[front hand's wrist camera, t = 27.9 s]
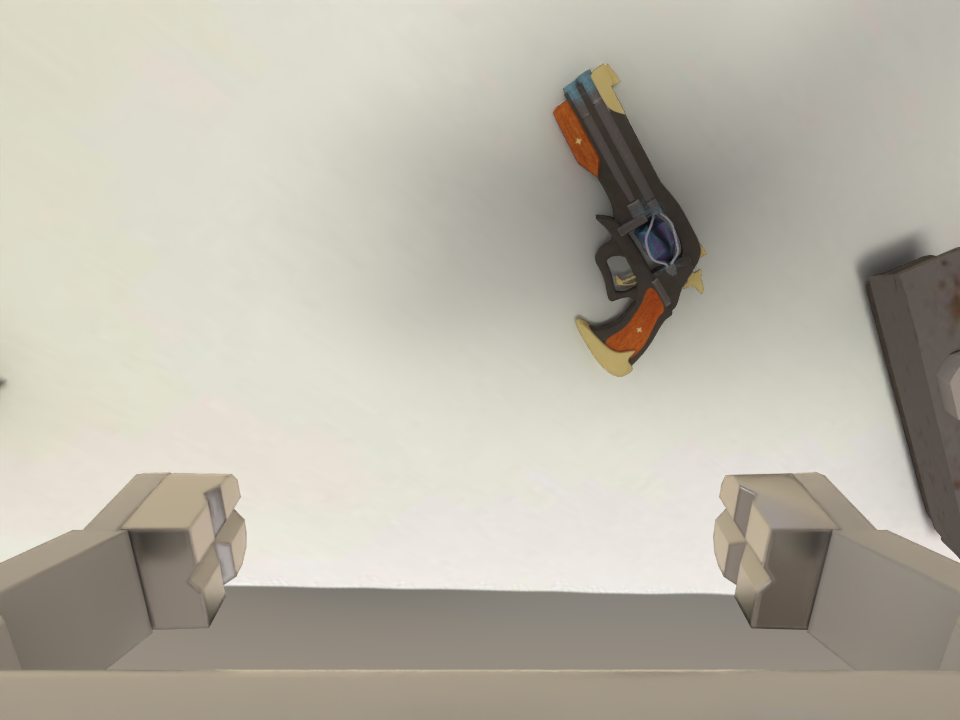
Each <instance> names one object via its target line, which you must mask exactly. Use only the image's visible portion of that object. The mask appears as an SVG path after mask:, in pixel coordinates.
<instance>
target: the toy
mask: <svg viewBox="0 0 960 720" xmlns="http://www.w3.org/2000/svg"><path fill="white" fill-rule="evenodd" d="M866 287H867V293H868V297H869V300H870V304H871V308H872V312H873V315H874V319H875V323H876V326H877V330H878V334H879V338H880V341H881V345H882V349H883V352H884V356H885V360H886V364H887V367H888V371H889V375H890V378H891V382H892V386H893V390H894V393H895V397H896V401H897V404H898V408H899V412H900V416H901V419H902V423H903V427H904V431H905V434H906V438H907V442H908V445H909V449H910V453H911V457H912V460H913V464H914V468H915V471H916V475H917V479H918V483H919V486H920V490H921V494H922V497H923V501H924V505H925V509H926V512H927V513H928V515H929V517H930V518H931V519H932V521H933V525H934V528H935V530H936V531H937V532H938V533H939V535H940V536H941V540H942V542H943V543H944V544H945V545H947V546H948V547H949V548H950V549H951V550H952V551H953V552H954V553H955V554H956V555H957V556H958V557H959V559H960V247H957V248H955V249H952V250H950V251H947V252H945V253H943V254H940V255H938V256H933V255H928V256H924V257H921V258H919V259H917V260H914V261H912V262H910V263H907V264H905V265H903V266H900V267H898V268H895V269H893V270H891V271H888V272H886V273H884V274H881V275H874V276H869V281H868V282H867V285H866Z"/></svg>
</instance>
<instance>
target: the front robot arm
mask: <svg viewBox="0 0 960 720" xmlns="http://www.w3.org/2000/svg"><path fill="white" fill-rule="evenodd" d="M240 497H241V495H240V491H239V486H238V481H237V479H236V478H235V477H234V476H233V475H232V474H200V473H173V474H172V473H142V474H137V475H136V476H135V477H134V478H133V479H132V480H131V481H130V482H129V483H128V484H127V485H126V486H125V487H124V488H123V489H122V490H121V491H120V492H119V493H118V494H117V495H116V496H115V497H114V498H113V499H112V500H111V501H110V502H109V503H108V505H107V506H106V507H105V508H104V509H103V510H102V511H101V512H100V513H99V514H98V515H97V516H96V517H95V518H94V519H93V520H92V521H91V522H90V523H89V524H88V525H87V526H86V527H85V528H84V529H83V530H72V531H70V532H68V533H65V534H63V535H61V536H59V537H56V538H54V539H52V540H50V541H48V542H45V543H43V544H41V545H39V546H37V547H34V548H32V549H30V550H28V551H26V552H23V553H21V554H19V555H17V556H15V557H12V558H10V559H8V560H6V561H4V562H1V563H0V720H960V563H958V562H956V561H954V560H952V559H950V558H947V557H945V556H943V555H941V554H939V553H936V552H934V551H932V550H930V549H928V548H925V547H923V546H921V545H919V544H917V543H914V542H912V541H910V540H908V539H906V538H903V537H901V536H899V535H897V534H895V533H892V532H890V531H888V530H877V529H876V528H875V527H874V526H873V525H872V524H871V523H870V522H869V521H868V520H867V519H866V518H865V517H864V516H863V515H862V514H861V513H860V512H859V511H858V510H857V509H856V508H855V506H854V505H853V504H852V503H851V502H850V501H849V500H848V499H847V498H846V497H845V496H844V495H843V494H842V493H841V492H840V491H839V490H838V489H837V488H836V487H835V486H834V485H833V484H832V483H831V482H830V481H829V480H828V479H827V477H826V476H825V475H822V474H820V473H817V472H812V473H786V474H748V475H725V478H724V480H723V482H722V484H721V490H720V495H719V497H720V499H721V501H722V502H723V504H724V506H725V507H726V509H725V510H724V511H723V512H722V513H721V514H720V516H719V517H718V518H717V519H716V520H715V527H714V535H713V540H714V551H715V556H716V560H717V563H718V566H719V568H720V570H721V572H722V574H723V576H724V577H725V578H727V579H728V580H730V581H731V582H733V583H734V584H736V591H735V596H734V597H735V599H736V600H737V602H738V604H739V606H740V608H741V610H742V612H743V613H744V615H745V617H746V619H747V621H748V623H749V625H750V627H751V628H762V629H798V630H808V631H807V632H808V633H809V634H810V635H811V636H813V637H814V638H815V639H816V640H818V641H819V642H820V643H821V644H823V645H824V646H825V647H826V648H828V649H829V650H830V651H831V652H833V653H834V654H835V655H837V656H838V657H839V658H840V659H842V660H843V661H844V662H845V663H847V664H848V665H849V666H850V667H852V668H853V669H854V670H106V669H107V668H109V667H110V666H111V665H112V664H114V663H115V662H116V661H117V660H119V659H120V658H121V657H123V656H124V655H125V654H126V653H127V652H129V651H130V650H131V649H133V648H134V647H135V646H136V645H138V644H139V643H140V642H141V641H143V640H144V639H145V638H146V637H148V636H149V635H150V634H151V633H152V630H162V629H196V628H209V627H210V625H211V623H212V621H213V619H214V617H215V615H216V613H217V612H218V610H219V608H220V606H221V604H222V602H223V601H224V599H225V591H224V584H226V583H227V582H229V581H230V580H232V579H233V578H235V577H236V576H237V574H238V572H239V570H240V568H241V566H242V564H243V559H244V555H245V550H246V526H245V520H244V519H243V518H242V517H241V516H240V514H239V513H238V512H237V511H236V510H235V509H234V507H235V506H236V504H237V502H238V501H239V499H240Z"/></svg>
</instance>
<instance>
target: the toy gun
mask: <svg viewBox="0 0 960 720" xmlns="http://www.w3.org/2000/svg"><path fill="white" fill-rule="evenodd" d="M576 80H577V82H578V84H577V82H576V81H574V82H572V83H570V84H569V85H568V86H566V87H565V88H563V90H564V92H565V94H564V95H565V97H566V99H567V101H565V102H564V103H562V104H561V105H559V106H558V107H557V108H556V109H555V110H554V112H553V113H554V116H555V118H556V120H557V122H558V124H559V126H560V128H561V130H562V132H563V134H564V136H565V138H566V140H567V142H568V144H569V146H570V148H571V150H572V152H573V154H574V156H575V158H576V159H577V161H578V163H579V164H580V165H581V166H583V167H584V168H585V169H587V170H588V171H589V172H591V173H592V174H593V175H595V176H596V177H597V178H598V179H599V180H600V182H601V184H602V186H603V188H604V189H605V191H606V193H607V195H608V197H609V199H610V201H611V204H612V207H613V212H614V218H613V217H610V216H605V215H596V219H597V220H598V221H599V222H600V223H601V224H602V225H604V226H605V227H606V228H607V229H608V231H609V232H610V233H611V234H612V239H611V240H610V241H609V242H607V243H605V244H604V245H602V246H601V247H600V248H599V249H598V251H597V253H596V256H595V260H596V263H597V265H598V267H599V269H600V270H601V272H602V275H603V277H604V280H605V284H606V289H607V295H608V299H609V300H610V301H614V300H617V299H620V298H625V297H631V298H632V299H634V301H633V303H632V304H631V305H630V307H629V308H628V309H627V311H626V312H625V313H624V314H623V315H622V316H621V317H620V318H619V319H618V320H616V321H614V322H612V323H610V324H607V325H603V326H599V327H597V326H591V325H590V324H588V323H587V322H586V321H584V320H582V319H580V318H579V319H577V320H576V321H575V323H576V325H577V328H578V330H579V332H580V334H581V336H582V338H583V339H584V341H585V343H586V344H587V346H588V348H589V349H590V351H591V352H592V354H593V355H594V357H595V358H596V360H597V361H598V362H599V363H600V364H601V365H602V367H603V368H604V369H605V370H606V371H608V372H609V373H611V374H612V375H614V376H618V377H622V376H625V375H626V374H628V373H630V372H631V371H632V365H633V364H634V363H635V362H636V361H637V360H638V359H639V358H640V356H641V355H642V354H643V353H644V352H645V350H646V349H647V348H648V346H649V345H650V343H651V342H652V340H653V339H654V337H655V335H656V333H657V332H658V330H659V328H660V327H661V325H662V324H663V322H664V321H665V320H666V319H667V318H668V317H670V316H671V315H672V310H673V309H674V308H675V307H676V305H677V303H678V300H679V296H680V292H681V289H685V288H688V287H690V286H694V287H695V288H696V289H697V290H698V291H699V292H700V293H701V294H702V293H703V290H704V288H703V283H702V280H701V275H702V271H701V270H700V269H699V270H697V271H696V272H693V269H694V268H695V266H696V264H697V263H698V260H699V258H700V257H702V256H704V255H706V254H707V252H706V251H705V250H704V248H703V247H702V246H701V244H700V243H699V241H698V239H697V237H696V235H695V233H694V231H693V229H692V227H691V225H690V223H689V221H688V219H687V218H686V216H685V214H684V212H683V210H682V209H681V207H680V205H679V204H678V203H677V201H676V200H675V199H674V197H673V196H672V195H671V194H670V193H669V191H668V190H667V189H666V188H665V187H664V186H663V184H662V183H661V182H660V180H659V178H658V176H657V175H656V173H655V171H654V169H653V167H652V165H651V163H650V161H649V159H648V157H647V155H646V154H645V152H644V150H643V148H642V146H641V144H640V142H639V140H638V138H637V136H636V134H635V133H634V131H633V129H632V127H631V125H630V123H629V121H628V119H627V117H626V114H625V112H624V110H623V108H622V106H621V104H620V102H619V100H618V98H617V96H616V94H615V93H614V91H613V89H612V86H614V85H615V84H617V83H618V82H620V79H619V78H618V77H617V75H616V74H615V73H614V71H613V70H612V69H611V68H610V66H609V65H608V64H607V65H604V64H602V65H601V66H599V67H598V68H596V69H595V70H594V72H593V73H591V71H590V69H589V70H587V71H586V72H584V73H583V74H581V75H580V76H578V77H577V78H576ZM662 212H664V213H665V214H666V215H667V216H668V217H667V216H666V215H664V214H663V213H662ZM658 213H660V214H661V215H662V216H663V217H664V218H665V219H667V220H668V222H669V223H670V225H671V227H672V230H673V233H672V232H671V231H670V229H669V228H668V226H667V225H666V224H665V222H664V221H662V220H661V219H660V218H659V215H658ZM648 214H649V215H651V216H650V217H649V218H647V217H646V215H648ZM655 214H656V217H657V218H654V215H655ZM637 227H638V228H637ZM635 228H637V230H636V231H635V233H634V234H635V235H636V236H637V238H638V239H639V240H640V242H641V243H642V247H643V249H644V251H645V252H646V254H647V255H648V256H649V257H650V259H651V260H652V261H654V262H656V263H659V264H662V265H660V266H658V267H657V268H655V269H653V270H650V269H649V267H648V265H647V263H646V261H645V260H644V258H643V256H642V254H641V253H640V251H639V249H638V248H637V246H636V244H635V243H634V241H633V240H632V239H631V237H630V236H629V234H628V232H630V231H632V230H633V229H635ZM675 230H676V232H677V234H678V237H679V240H680V244H681V254H680V255H679V256H678V254H679V245H678V240H677V236H676V232H675ZM673 234H674V235H673ZM675 245H676V248H677V252H676V255H675V257H674V258H673V255H674V250H675ZM612 256H623V257H626V259H627V261H628V263H629V265H630V266H631V268H632V270H633V272H634V274H635V275H633V276H631V277H629V278H626V279H624V280H621V279H620V278H619V277H618V276H617V275H616V277H615V280H616V284H617V285H622V286H629V285H634V284H636V286H634V287H633V288H631V289H628V290H626V291H616V290H615V287H614V283H613V279H612V275H611V271H610V268H609V266H608V264H607V262H606V261H607V259H608V258H610V257H612ZM634 278H636V281H634V282H631V283H627V284H624V282H627V281H629V280H632V279H634Z"/></svg>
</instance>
